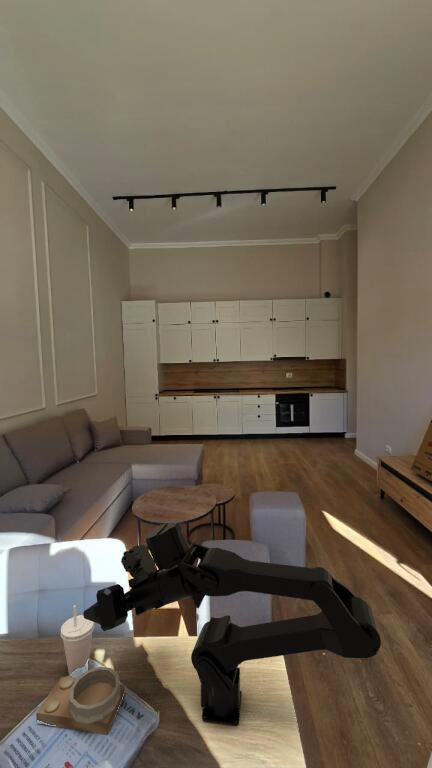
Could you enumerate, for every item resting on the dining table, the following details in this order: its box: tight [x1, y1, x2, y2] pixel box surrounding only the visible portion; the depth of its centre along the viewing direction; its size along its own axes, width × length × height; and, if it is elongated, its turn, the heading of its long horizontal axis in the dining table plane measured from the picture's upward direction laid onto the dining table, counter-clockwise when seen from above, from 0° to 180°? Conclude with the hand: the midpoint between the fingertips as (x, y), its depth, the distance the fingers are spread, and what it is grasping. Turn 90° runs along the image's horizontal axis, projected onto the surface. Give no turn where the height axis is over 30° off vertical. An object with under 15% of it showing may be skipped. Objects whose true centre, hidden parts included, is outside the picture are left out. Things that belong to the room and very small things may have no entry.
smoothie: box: [60, 604, 95, 676], centre depth 73 cm, size 6×6×14 cm
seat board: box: [35, 666, 126, 735], centre depth 65 cm, size 13×8×4 cm, turn 81°
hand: (100, 608), depth 70 cm, fingers open, 9 cm apart
